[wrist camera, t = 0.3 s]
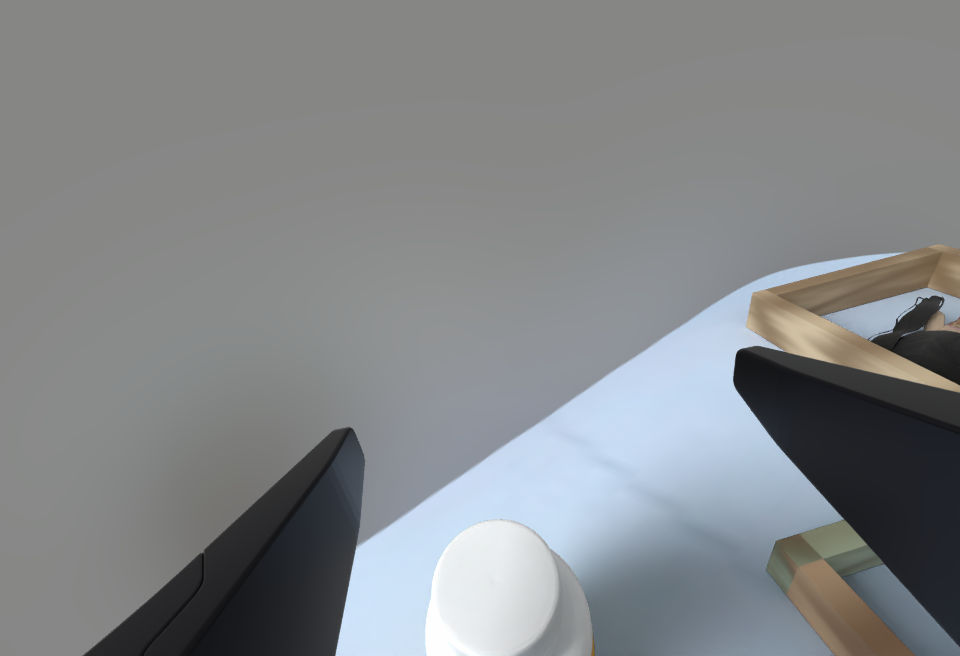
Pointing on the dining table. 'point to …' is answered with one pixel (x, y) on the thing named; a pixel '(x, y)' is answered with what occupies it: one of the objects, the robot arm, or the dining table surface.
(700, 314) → the dining table surface
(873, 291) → the fence
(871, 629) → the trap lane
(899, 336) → the toy figure
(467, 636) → the supplement bottle
